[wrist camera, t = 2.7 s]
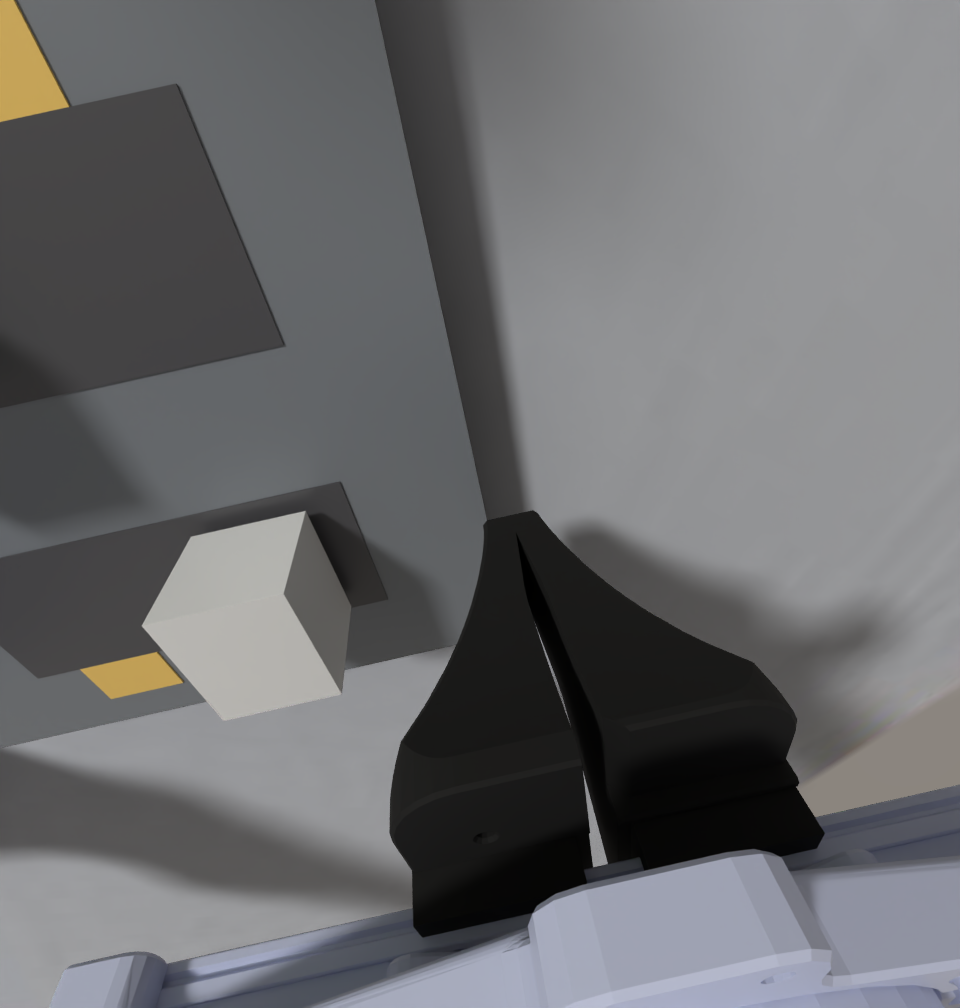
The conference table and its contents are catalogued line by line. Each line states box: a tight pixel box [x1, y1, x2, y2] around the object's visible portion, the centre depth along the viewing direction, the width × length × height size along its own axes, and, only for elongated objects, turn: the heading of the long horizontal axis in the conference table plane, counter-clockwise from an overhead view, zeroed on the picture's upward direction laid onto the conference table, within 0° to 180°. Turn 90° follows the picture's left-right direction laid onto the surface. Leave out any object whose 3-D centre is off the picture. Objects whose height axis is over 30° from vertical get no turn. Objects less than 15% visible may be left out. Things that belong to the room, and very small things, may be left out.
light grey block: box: [142, 511, 351, 721], centre depth 13 cm, size 3×4×3 cm
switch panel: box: [0, 0, 487, 748], centre depth 13 cm, size 18×18×2 cm
